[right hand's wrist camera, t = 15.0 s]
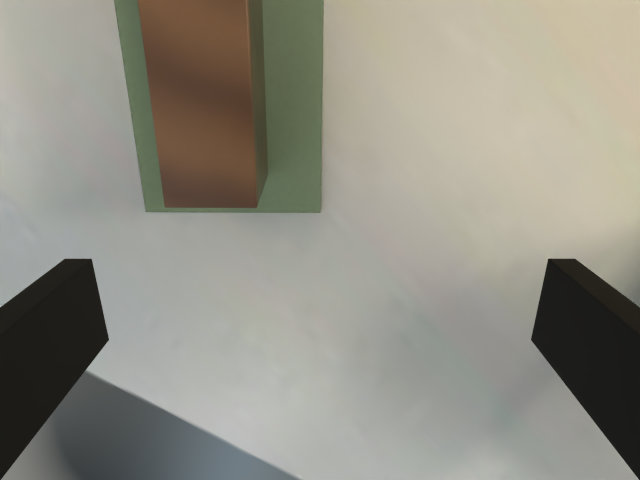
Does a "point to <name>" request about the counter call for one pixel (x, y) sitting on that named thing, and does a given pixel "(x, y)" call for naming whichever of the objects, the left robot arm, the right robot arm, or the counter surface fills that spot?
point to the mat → (281, 106)
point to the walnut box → (207, 100)
